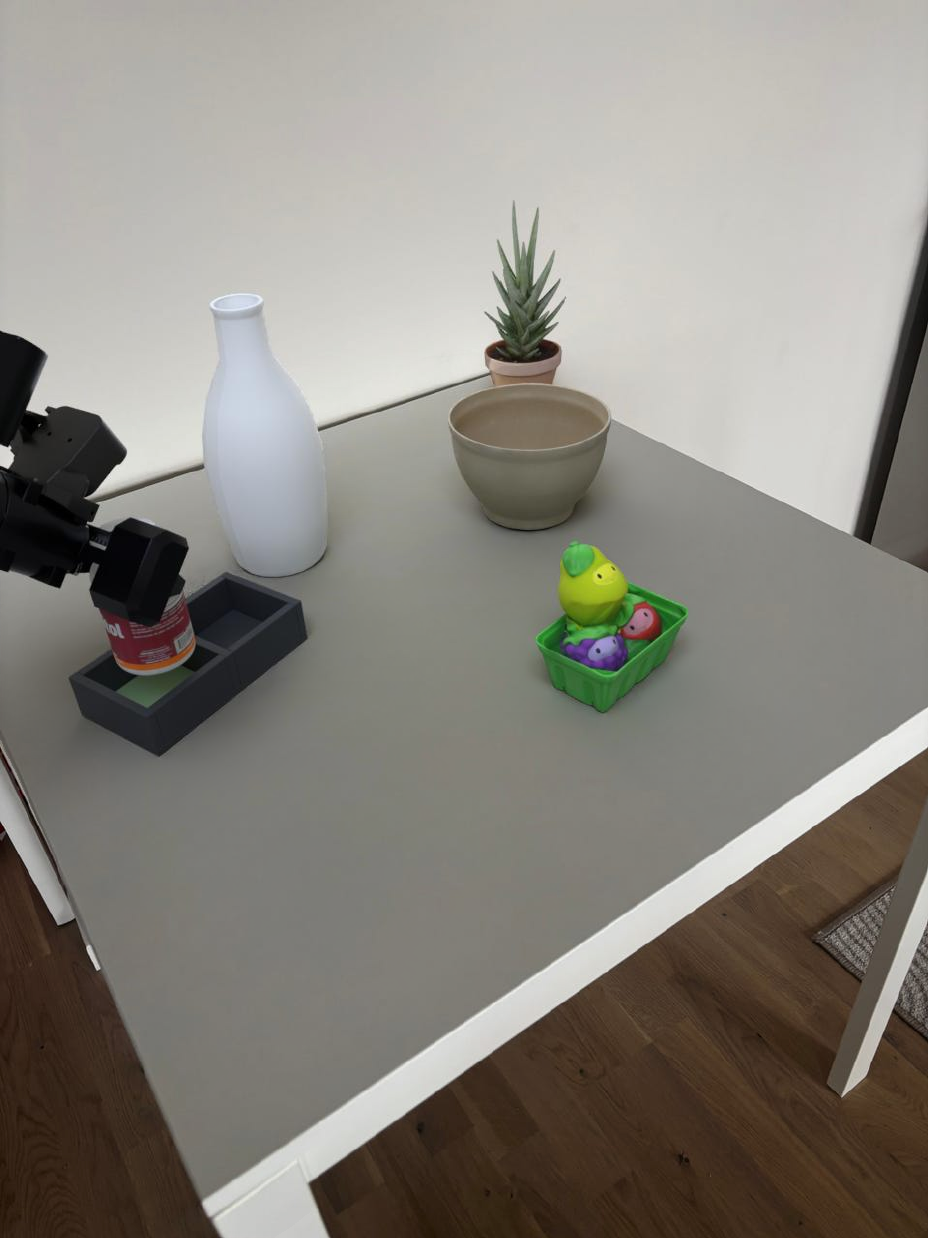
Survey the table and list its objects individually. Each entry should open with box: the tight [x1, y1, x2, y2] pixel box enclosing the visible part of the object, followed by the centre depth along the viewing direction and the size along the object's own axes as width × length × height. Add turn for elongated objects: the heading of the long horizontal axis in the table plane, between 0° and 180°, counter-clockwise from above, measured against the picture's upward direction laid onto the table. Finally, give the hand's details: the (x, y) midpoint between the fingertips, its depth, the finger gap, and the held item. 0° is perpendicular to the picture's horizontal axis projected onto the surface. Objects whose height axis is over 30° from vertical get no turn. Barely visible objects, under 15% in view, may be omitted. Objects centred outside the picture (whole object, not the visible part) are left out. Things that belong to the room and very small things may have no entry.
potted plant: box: [483, 199, 567, 387], centre depth 117 cm, size 10×10×25 cm
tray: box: [68, 571, 308, 757], centre depth 81 cm, size 17×9×4 cm, turn 146°
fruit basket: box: [534, 540, 690, 713], centre depth 77 cm, size 11×9×11 cm
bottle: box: [201, 292, 329, 578], centre depth 90 cm, size 11×11×25 cm
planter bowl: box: [447, 383, 612, 531], centre depth 99 cm, size 16×16×11 cm
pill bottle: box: [88, 516, 195, 676], centre depth 72 cm, size 6×6×11 cm
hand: (151, 575), depth 73 cm, fingers closed on pill bottle, 6 cm apart
